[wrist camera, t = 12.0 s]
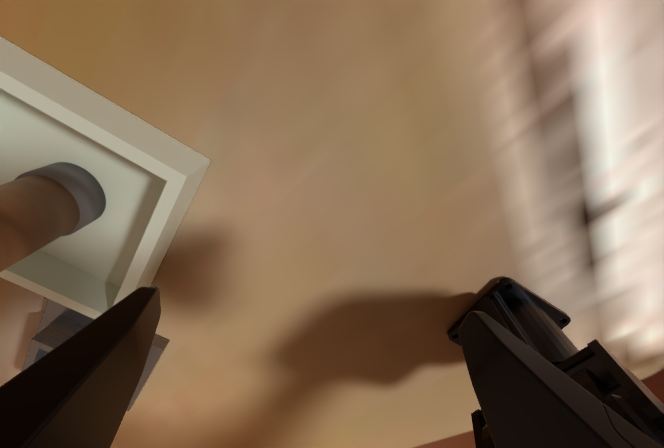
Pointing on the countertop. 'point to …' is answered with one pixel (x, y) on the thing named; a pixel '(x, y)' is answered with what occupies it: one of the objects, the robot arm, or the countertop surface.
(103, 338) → the robot arm
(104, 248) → the tray
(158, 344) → the socket block
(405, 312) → the countertop surface
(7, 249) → the brown bulb shape
